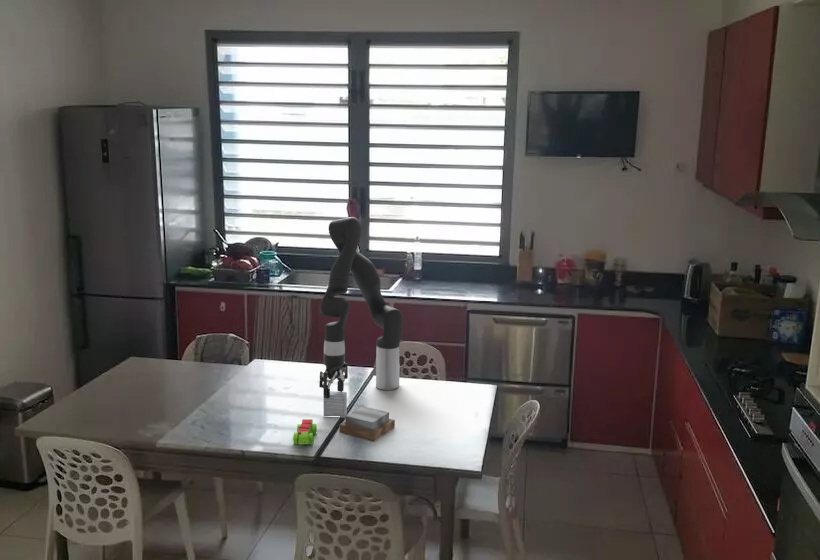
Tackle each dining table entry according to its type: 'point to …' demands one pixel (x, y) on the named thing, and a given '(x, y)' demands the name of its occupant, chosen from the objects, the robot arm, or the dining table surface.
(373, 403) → the dining table surface
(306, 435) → the toy crocodile
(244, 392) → the dining table surface
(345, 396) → the medicine box
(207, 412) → the dining table surface
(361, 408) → the brown gray stepped block
